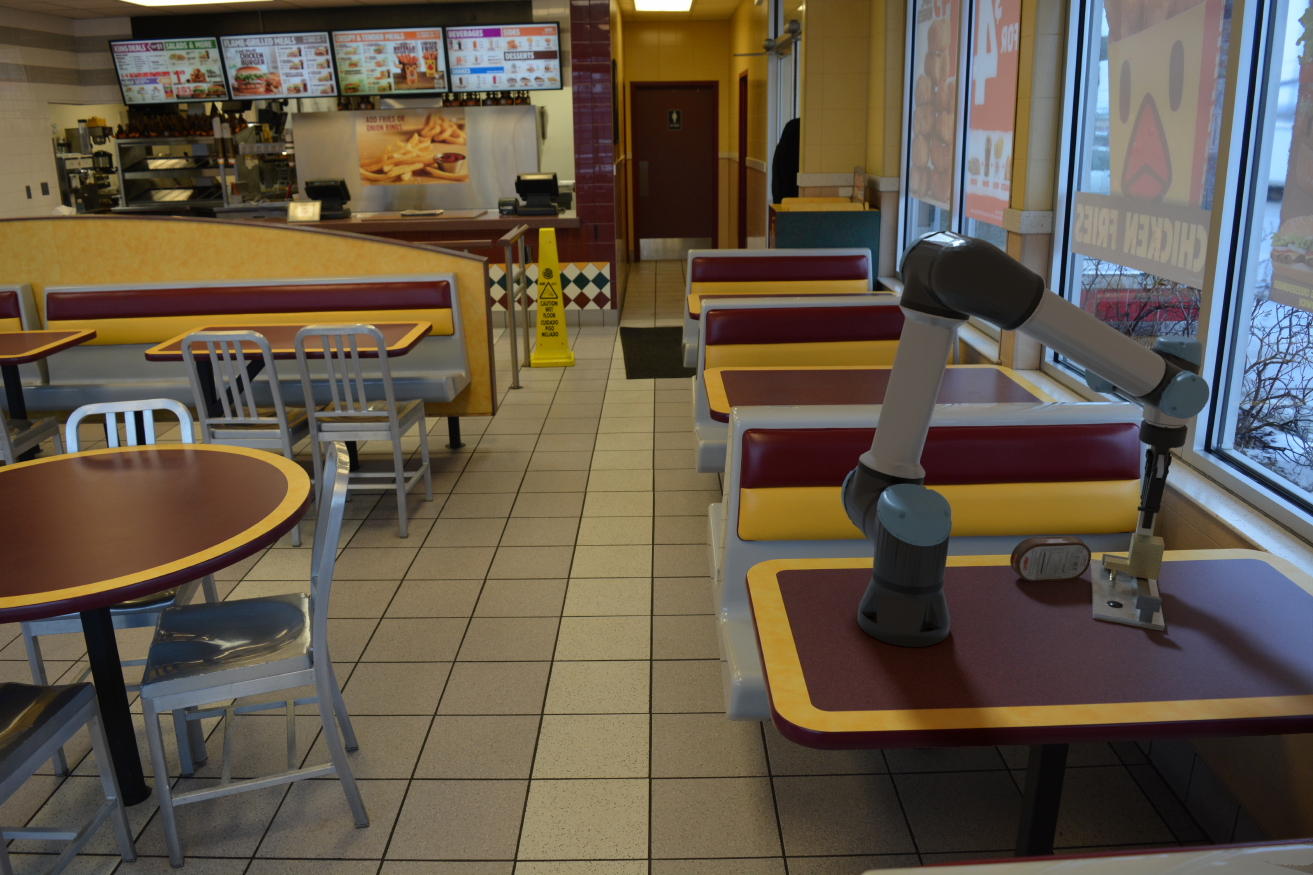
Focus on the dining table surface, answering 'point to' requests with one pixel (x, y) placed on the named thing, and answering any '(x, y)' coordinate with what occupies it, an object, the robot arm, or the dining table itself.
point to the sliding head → (1139, 558)
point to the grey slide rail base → (1142, 596)
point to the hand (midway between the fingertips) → (1142, 541)
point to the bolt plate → (1119, 598)
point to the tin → (1050, 558)
